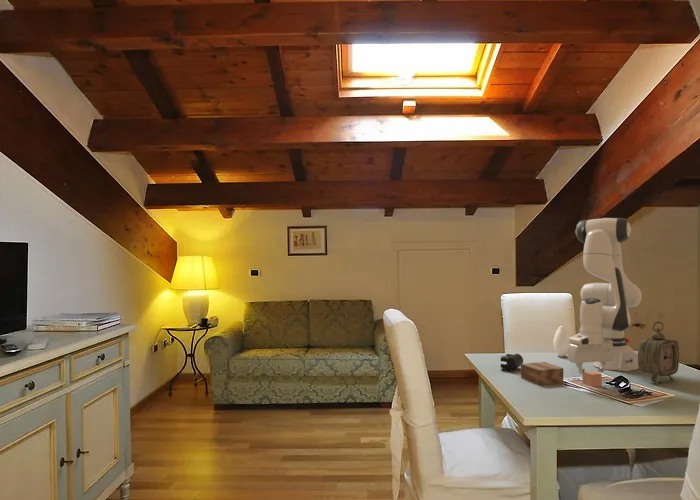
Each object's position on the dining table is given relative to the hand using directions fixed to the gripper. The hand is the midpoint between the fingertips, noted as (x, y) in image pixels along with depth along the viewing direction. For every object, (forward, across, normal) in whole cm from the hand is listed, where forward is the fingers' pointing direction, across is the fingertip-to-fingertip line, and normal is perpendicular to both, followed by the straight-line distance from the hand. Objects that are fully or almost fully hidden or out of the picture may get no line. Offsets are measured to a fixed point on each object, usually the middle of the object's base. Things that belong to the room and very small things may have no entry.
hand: (591, 372), depth 208 cm
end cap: (+5, +15, -32) cm, 36 cm away
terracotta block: (+5, -1, 0) cm, 5 cm away
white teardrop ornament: (+4, -24, -48) cm, 54 cm away
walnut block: (+5, +14, -12) cm, 20 cm away
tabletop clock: (+5, -30, +4) cm, 30 cm away
